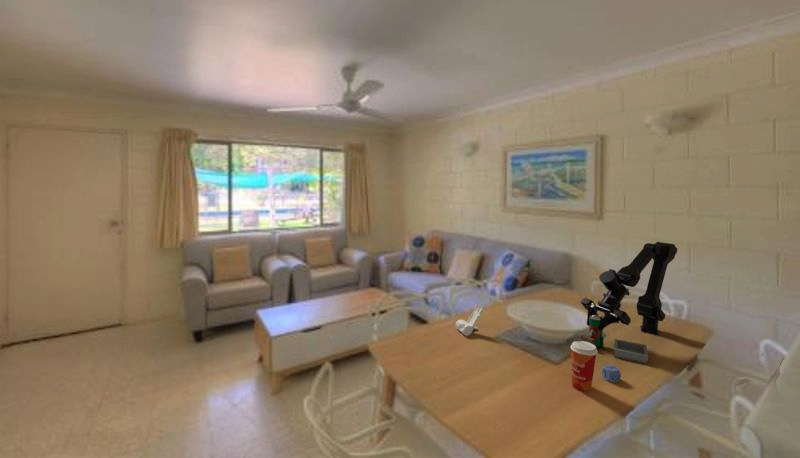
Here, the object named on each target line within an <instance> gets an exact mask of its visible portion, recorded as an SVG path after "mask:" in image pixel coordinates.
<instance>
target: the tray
mask: <svg viewBox="0 0 800 458" xmlns="http://www.w3.org/2000/svg"><path fill="white" fill-rule="evenodd" d="M613 358H618V359H621V360H627V361H631V362H635V363H640V364H645V365H648V364H649V353H648V347H647V344H643V343H638V342H632V341H627V340H623V339H617V338H614V344H613Z"/></svg>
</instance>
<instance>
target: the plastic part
mask: <svg viewBox="0 0 800 458" xmlns="http://www.w3.org/2000/svg"><path fill="white" fill-rule="evenodd" d="M483 311H484V307H481V305H479V304H478V303H477V304H476V305H475V307H474V309H473V312H471V314H470V315H469V318H468V320H467V321H466V320H464V319H458V320H457V321H456V322H455V328H456V329H457V330H458V331H459V332H461V334H463V335H464V336H466V337H467V336H470V335H471V334H472V332H473V330H478V329H479V328H478V327H477V325H476V324H477V323H478V321H479V318H480V317H481V314H482V313H483Z"/></svg>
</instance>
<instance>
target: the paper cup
mask: <svg viewBox="0 0 800 458" xmlns="http://www.w3.org/2000/svg"><path fill="white" fill-rule="evenodd" d="M570 349H571V357H570V359H571V368H570V369H571V387H573V389H575V390H577V391H580V392H585V393H586V392H590V391H592V384H593V381H594V371H595V366H596V358H597V354H598V353H599V352H598V350H597V347H596V346H595V345H593V344H591V343H589V342H585V341H580V340H577V341H576V340H575V341H573V342H572V343H571V345H570Z"/></svg>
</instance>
